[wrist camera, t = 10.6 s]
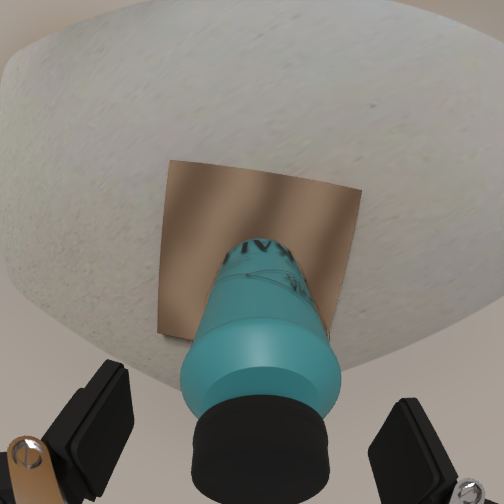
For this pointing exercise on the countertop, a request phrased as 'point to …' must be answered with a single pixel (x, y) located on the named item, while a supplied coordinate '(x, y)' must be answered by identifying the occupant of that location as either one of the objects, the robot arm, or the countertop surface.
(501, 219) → the countertop surface
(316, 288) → the walnut board
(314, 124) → the countertop surface
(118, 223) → the countertop surface
